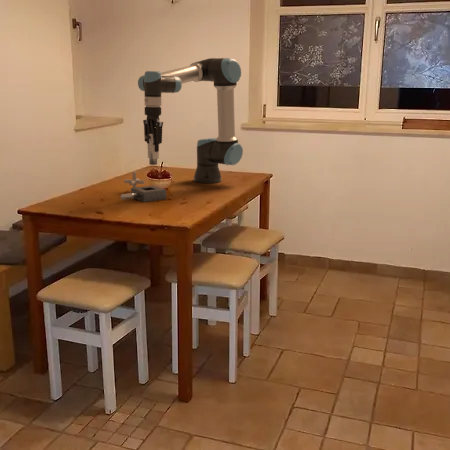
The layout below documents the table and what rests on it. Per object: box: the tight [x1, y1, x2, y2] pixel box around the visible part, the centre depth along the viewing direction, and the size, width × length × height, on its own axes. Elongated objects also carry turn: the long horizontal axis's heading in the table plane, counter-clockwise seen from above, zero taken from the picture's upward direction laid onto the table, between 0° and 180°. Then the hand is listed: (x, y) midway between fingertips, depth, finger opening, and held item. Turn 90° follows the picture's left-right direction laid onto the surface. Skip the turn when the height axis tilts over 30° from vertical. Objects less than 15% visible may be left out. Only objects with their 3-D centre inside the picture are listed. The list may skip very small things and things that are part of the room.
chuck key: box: [144, 133, 158, 166], centre depth 272 cm, size 8×4×14 cm, turn 129°
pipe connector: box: [123, 171, 146, 188], centre depth 291 cm, size 10×10×10 cm
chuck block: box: [120, 185, 167, 203], centre depth 275 cm, size 20×12×4 cm, turn 128°
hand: (153, 158), depth 273 cm, fingers closed on chuck key, 3 cm apart
